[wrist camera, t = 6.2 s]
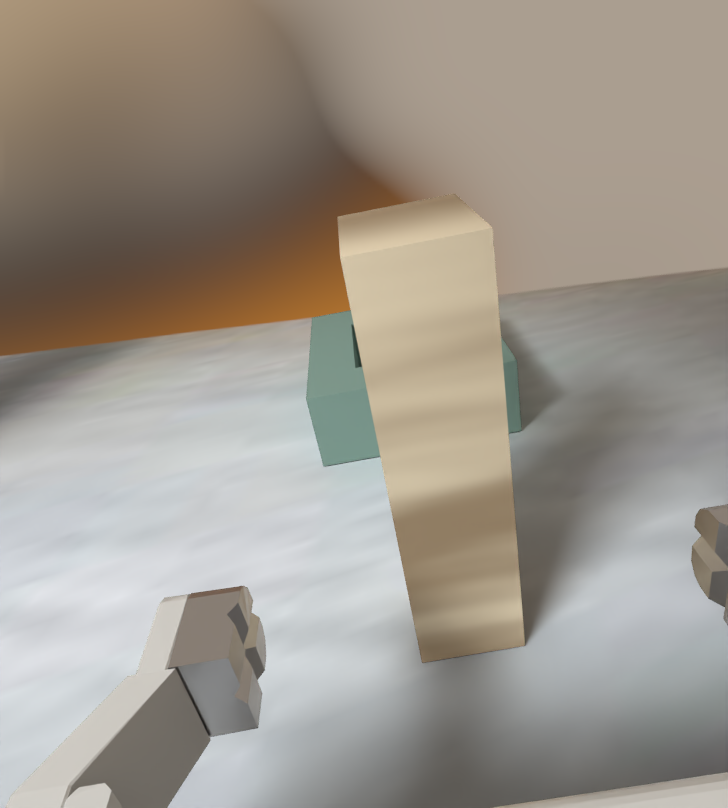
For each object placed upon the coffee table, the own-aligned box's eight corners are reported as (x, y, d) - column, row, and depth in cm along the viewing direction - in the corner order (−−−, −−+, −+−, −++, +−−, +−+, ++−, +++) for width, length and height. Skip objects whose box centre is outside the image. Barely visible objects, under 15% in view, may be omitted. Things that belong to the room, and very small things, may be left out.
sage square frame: (521, 430, 27) (516, 360, 25) (323, 466, 27) (306, 399, 26) (473, 344, 36) (468, 287, 34) (325, 372, 36) (312, 317, 34)
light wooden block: (525, 645, 17) (492, 227, 12) (422, 662, 17) (339, 257, 12) (492, 550, 21) (454, 193, 15) (406, 564, 21) (337, 216, 15)
